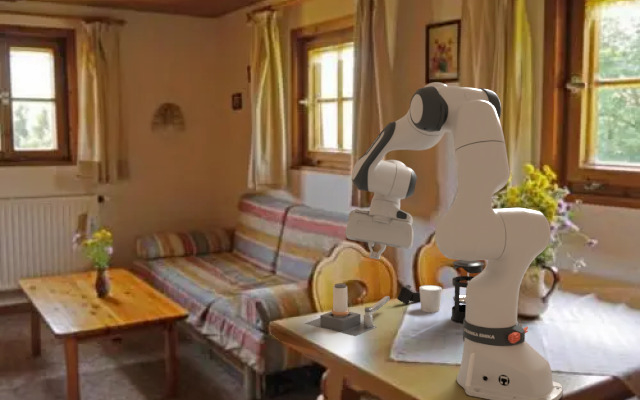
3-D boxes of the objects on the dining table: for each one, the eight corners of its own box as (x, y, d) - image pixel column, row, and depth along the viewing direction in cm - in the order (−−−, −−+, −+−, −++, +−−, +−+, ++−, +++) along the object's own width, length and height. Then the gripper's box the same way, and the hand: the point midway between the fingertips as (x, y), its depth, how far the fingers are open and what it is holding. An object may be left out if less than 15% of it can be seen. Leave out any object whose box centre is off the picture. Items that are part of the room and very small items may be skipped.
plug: (352, 324, 190) (352, 284, 189) (341, 328, 187) (341, 287, 185) (339, 321, 193) (338, 281, 192) (328, 325, 190) (328, 285, 188)
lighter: (412, 309, 218) (419, 293, 219) (417, 310, 216) (424, 294, 217) (395, 298, 213) (402, 282, 214) (400, 299, 211) (407, 283, 213)
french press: (466, 327, 190) (467, 246, 188) (442, 319, 198) (443, 241, 195) (494, 319, 197) (496, 242, 194) (470, 312, 205) (472, 237, 202)
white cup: (430, 314, 203) (430, 291, 202) (414, 309, 209) (414, 286, 208) (446, 310, 207) (446, 287, 206) (430, 305, 213) (430, 283, 212)
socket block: (377, 330, 188) (377, 315, 188) (355, 339, 180) (355, 324, 180) (326, 318, 200) (326, 304, 199) (304, 326, 192) (304, 312, 191)
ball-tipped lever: (370, 316, 186) (370, 309, 186) (363, 315, 187) (363, 308, 187) (390, 300, 203) (390, 293, 203) (384, 299, 204) (384, 293, 203)
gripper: (348, 205, 202) (338, 249, 199) (416, 216, 196) (407, 262, 193) (352, 211, 208) (342, 254, 204) (418, 221, 202) (409, 266, 199)
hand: (374, 258), depth 199 cm, fingers closed
